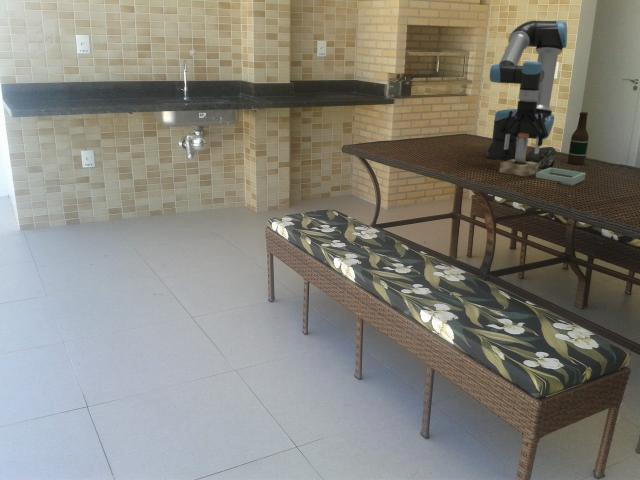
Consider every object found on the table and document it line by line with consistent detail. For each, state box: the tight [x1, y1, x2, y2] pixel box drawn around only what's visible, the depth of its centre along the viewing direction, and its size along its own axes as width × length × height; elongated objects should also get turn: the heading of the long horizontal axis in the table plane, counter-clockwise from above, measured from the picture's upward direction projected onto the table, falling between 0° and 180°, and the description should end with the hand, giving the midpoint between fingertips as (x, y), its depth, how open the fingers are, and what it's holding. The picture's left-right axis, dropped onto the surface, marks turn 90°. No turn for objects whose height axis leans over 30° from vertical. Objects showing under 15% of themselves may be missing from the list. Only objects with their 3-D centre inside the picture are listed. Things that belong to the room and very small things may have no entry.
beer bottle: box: [567, 111, 589, 166], centre depth 285 cm, size 8×8×24 cm
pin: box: [514, 133, 529, 165], centre depth 260 cm, size 4×4×16 cm
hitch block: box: [499, 159, 539, 177], centre depth 262 cm, size 12×12×5 cm
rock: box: [528, 146, 557, 170], centre depth 274 cm, size 12×10×10 cm
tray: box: [535, 167, 587, 187], centre depth 254 cm, size 15×15×3 cm
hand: (521, 151), depth 260 cm, fingers open, 13 cm apart
